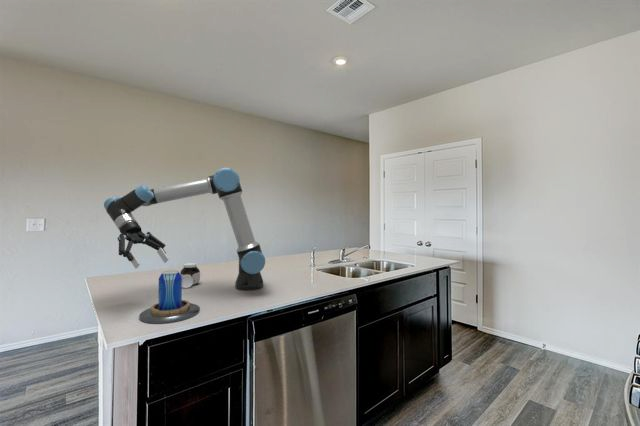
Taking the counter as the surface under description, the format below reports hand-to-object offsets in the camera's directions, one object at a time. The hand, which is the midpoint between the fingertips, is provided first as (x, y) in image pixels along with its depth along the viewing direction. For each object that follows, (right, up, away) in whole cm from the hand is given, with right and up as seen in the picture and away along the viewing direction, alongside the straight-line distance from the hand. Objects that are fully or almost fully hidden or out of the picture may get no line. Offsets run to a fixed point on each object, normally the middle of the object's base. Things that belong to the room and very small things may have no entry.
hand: (153, 263), depth 126 cm
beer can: (+9, -19, -3) cm, 21 cm away
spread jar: (-2, -19, +41) cm, 45 cm away
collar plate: (+9, -20, -3) cm, 22 cm away
